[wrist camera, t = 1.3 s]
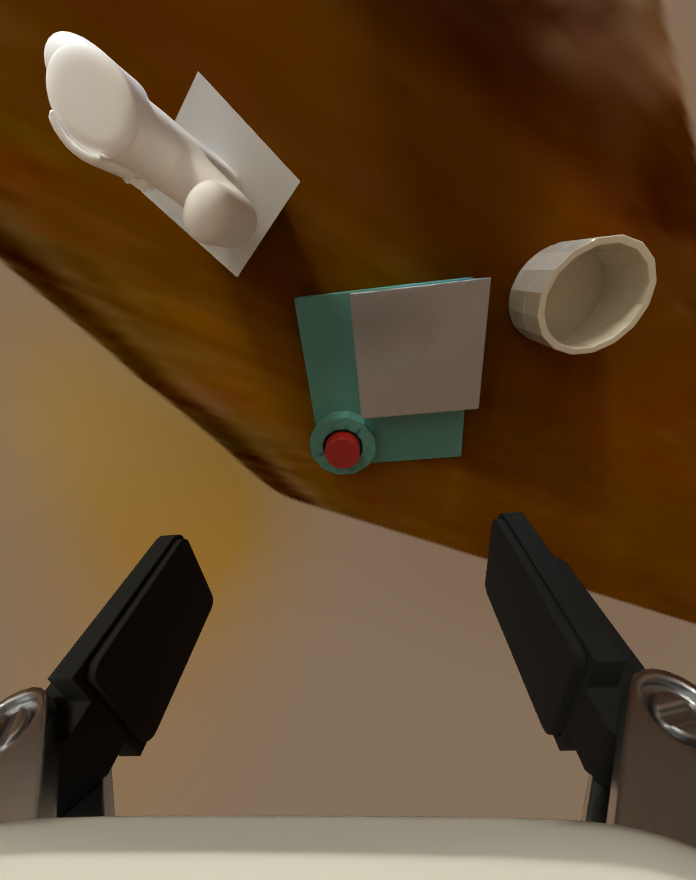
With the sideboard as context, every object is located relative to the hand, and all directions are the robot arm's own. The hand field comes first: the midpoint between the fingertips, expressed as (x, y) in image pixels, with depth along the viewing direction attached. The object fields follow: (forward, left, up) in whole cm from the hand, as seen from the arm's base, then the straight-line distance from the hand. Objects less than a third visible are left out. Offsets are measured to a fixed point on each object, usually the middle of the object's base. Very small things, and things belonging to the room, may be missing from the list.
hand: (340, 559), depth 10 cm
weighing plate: (-1, +6, -22) cm, 23 cm away
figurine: (-13, -7, -22) cm, 27 cm away
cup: (-4, +17, -22) cm, 28 cm away
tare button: (+7, -2, -19) cm, 20 cm away
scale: (+2, +3, -22) cm, 22 cm away
